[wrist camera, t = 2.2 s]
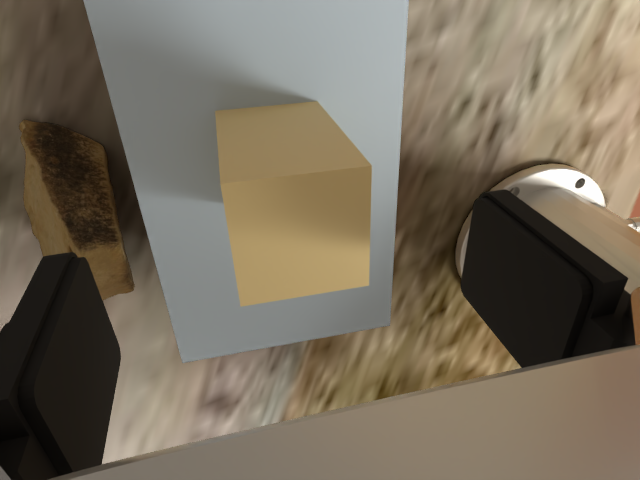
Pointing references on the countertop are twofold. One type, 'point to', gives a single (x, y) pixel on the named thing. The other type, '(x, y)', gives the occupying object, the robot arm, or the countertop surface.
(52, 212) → the rock
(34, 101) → the countertop surface
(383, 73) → the lid
